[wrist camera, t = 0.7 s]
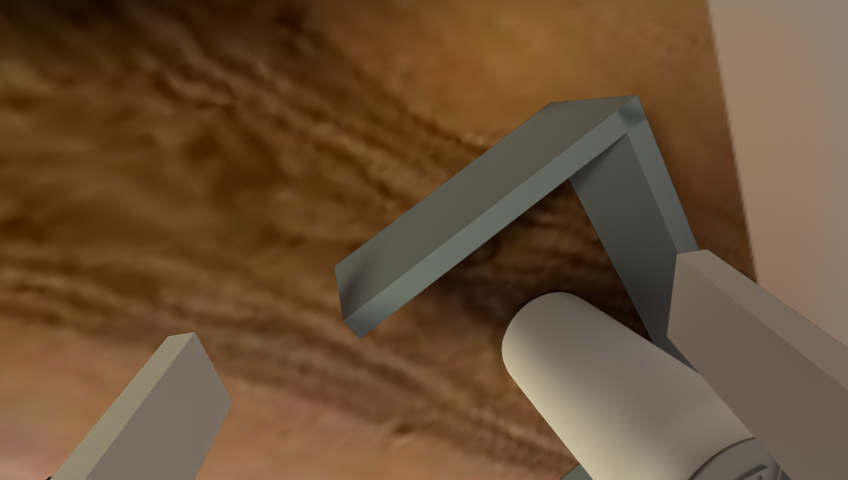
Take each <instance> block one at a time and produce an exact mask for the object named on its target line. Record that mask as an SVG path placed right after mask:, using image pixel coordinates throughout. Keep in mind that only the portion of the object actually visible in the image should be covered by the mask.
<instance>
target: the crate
mask: <svg viewBox="0 0 848 480" xmlns="http://www.w3.org/2000/svg"><path fill="white" fill-rule="evenodd" d="M567 178H569V180H570V182H571V184H572V186H573V188H574V190H575V192H576V194H577V196H578V198H579V200H580V202H581V204H582V205H583V207H584V209H585V211H586V213H587V215H588V217H589V219H590V221H591V223H592V225H593V227H594V229H595V231H596V233H597V235H598V237H599V238H600V240H601V242H602V244H603V246H604V248H605V250H606V252H607V254H608V256H609V258H610V260H611V262H612V264H613V266H614V268H615V269H616V271H617V273H618V275H619V277H620V279H621V281H622V283H623V285H624V287H625V289H626V291H627V293H628V295H629V297H630V299H631V301H632V302H633V304H634V306H635V308H636V310H637V312H638V314H639V316H640V318H641V320H642V322H643V324H644V326H645V328H646V330H647V332H648V334H649V335H650V337H651V339H652V341H653V343H654V345H655V346H657V347H658V348H660V349H661V350H663V351H664V352H666V353H668V354H669V355H671V356H672V357H674V358H675V359H677V360H678V361H680V362H682V363H683V364H685V365H686V366H688V367H689V368H691V369H692V370H694V371H695V372H697V370H696V369H695V368H694V367H693V366H692V365H691V364H690V362H689V361H688V360H687V359H686V358H685V357H684V356H683V354H682V353H681V352H680V351H679V350H678V349H677V347H676V346H675V345H674V344H673V343H672V342H671V341H670V339H669V338H668V337H667V332H668V323H669V315H670V307H671V299H672V291H673V283H674V275H675V266H676V258H677V254H681V253H688V252H694V251H699V249H698V246H697V244H696V241H695V239H694V236H693V234H692V231H691V229H690V226H689V224H688V221H687V219H686V216H685V214H684V211H683V208H682V206H681V203H680V201H679V198H678V196H677V193H676V191H675V188H674V186H673V183H672V181H671V178H670V176H669V173H668V171H667V168H666V166H665V163H664V161H663V158H662V156H661V153H660V151H659V148H658V146H657V143H656V141H655V138H654V136H653V133H652V131H651V128H650V126H649V123H648V121H647V118H646V116H645V113H644V111H643V108H642V105H641V103H640V100H639V98H638V95H633V96H622V97H610V98H599V99H588V100H576V101H565V102H554V103H549V104H548V105H547V106H546V107H544V108H543V109H542V110H540V111H539V112H538V113H536V114H535V115H534V116H532V117H531V118H530V119H528V120H527V121H526V122H524V123H523V124H522V125H520V126H519V127H518V128H516V129H515V130H514V131H513V132H511V133H510V134H509V135H507V136H506V137H505V138H503V139H502V140H501V141H499V142H498V143H497V144H495V145H494V146H493V147H491V148H490V149H489V150H487V151H486V152H485V153H484V154H482V155H481V156H480V157H478V158H477V159H476V160H474V161H473V162H472V163H470V164H469V165H468V166H466V167H465V168H464V169H462V170H461V171H460V172H458V173H457V174H456V175H454V176H453V177H452V178H451V179H449V180H448V181H447V182H445V183H444V184H443V185H441V186H440V187H439V188H437V189H436V190H435V191H433V192H432V193H431V194H429V195H428V196H427V197H425V198H424V199H423V200H422V201H420V202H419V203H418V204H416V205H415V206H414V207H412V208H411V209H410V210H408V211H407V212H406V213H404V214H403V215H402V216H400V217H399V218H398V219H396V220H395V221H394V222H392V223H391V224H390V225H389V226H387V227H386V228H385V229H383V230H382V231H381V232H379V233H378V234H377V235H375V236H374V237H373V238H371V239H370V240H369V241H367V242H366V243H365V244H363V245H362V246H361V247H360V248H358V249H357V250H356V251H354V252H353V253H352V254H350V255H349V256H348V257H346V258H345V259H344V260H342V261H341V262H340V263H338V264H337V265H336V266H334V268H335V274H336V280H337V286H338V291H339V297H340V303H341V309H342V315H343V321H344V322H345V323H346V324H347V325H348V326H349V327H350V328H351V329H352V330H353V332H354V333H355V334H356V335H357V336H358V337H359V338H362V337H363V336H364V335H365V334H367V333H368V332H369V331H371V330H372V329H373V328H375V327H376V326H377V325H378V324H380V323H381V322H382V321H384V320H385V319H386V318H387V317H389V316H390V315H391V314H393V313H394V312H395V311H397V310H398V309H399V308H400V307H402V306H403V305H404V304H406V303H407V302H408V301H410V300H411V299H412V298H413V297H415V296H416V295H417V294H419V293H420V292H421V291H422V290H424V289H425V288H426V287H428V286H429V285H430V284H432V283H433V282H434V281H435V280H437V279H438V278H439V277H441V276H442V275H443V274H444V273H446V272H447V271H448V270H450V269H451V268H452V267H454V266H455V265H456V264H457V263H459V262H460V261H461V260H463V259H464V258H465V257H466V256H468V255H469V254H470V253H472V252H473V251H474V250H476V249H477V248H478V247H479V246H481V245H482V244H483V243H485V242H486V241H487V240H488V239H490V238H491V237H492V236H494V235H495V234H496V233H498V232H499V231H500V230H501V229H503V228H504V227H505V226H507V225H508V224H509V223H511V222H512V221H513V220H514V219H516V218H517V217H518V216H520V215H521V214H522V213H523V212H525V211H526V210H527V209H529V208H530V207H531V206H533V205H534V204H535V203H536V202H538V201H539V200H540V199H542V198H543V197H544V196H545V195H547V194H548V193H549V192H551V191H552V190H553V189H555V188H556V187H557V186H558V185H560V184H561V183H562V182H564V181H565V180H566V179H567ZM697 373H698V372H697ZM561 480H593V479H592V478H591V476H590V475H589V474H588V473H587V471H586V470H585V469H584V468H583V466H582V465H581V464H579V465H578V466H577V467H575V468H574V469H573V470H572V471H570V472H569V473H568V474H567V475H566V476H564V477H563V478H562V479H561Z"/></svg>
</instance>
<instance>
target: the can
mask: <svg viewBox="0 0 848 480" xmlns="http://www.w3.org/2000/svg"><path fill="white" fill-rule="evenodd" d="M502 357H503V361H504V364H505V366H506V369H507V370H508V372H509V374H510V375H511V376H512V378H513V379H514V380H515V382H516V383H517V384H518V386H519V387H520V388H521V390H522V391H523V392H524V393H525V395H526V396H527V397H528V398H529V400H530V401H531V402H532V403H533V405H534V406H535V407H536V409H537V410H538V411H539V412H540V414H541V415H542V416H543V417H544V419H545V420H546V421H547V422H548V424H549V425H550V426H551V427H552V429H553V430H554V431H555V432H556V434H557V435H558V436H559V438H560V439H561V440H562V441H563V443H564V444H565V445H566V446H567V448H568V449H569V450H570V451H571V453H572V454H573V455H574V456H575V458H576V459H577V460H578V461H579V463H580V464H581V465H582V466H583V468H584V469H585V470H586V471H587V473H588V474H589V475H590V476H591V478H592V479H593V480H791V479H790V477H789V476H788V475H787V474H786V473H785V472H784V471H783V469H782V468H781V467H780V466H779V465H778V464H777V462H776V461H775V460H774V459H773V458H772V457H771V456H770V454H769V453H768V452H767V451H766V450H765V449H764V448H763V446H762V445H761V444H760V443H759V442H758V441H757V439H756V438H755V437H754V436H753V435H752V434H751V433H750V431H749V430H748V429H747V428H746V427H745V426H744V425H743V423H742V422H741V421H740V420H739V419H738V418H737V416H736V415H735V414H734V413H733V412H732V411H731V410H730V408H729V407H728V406H727V405H726V404H725V403H724V402H723V400H722V399H721V398H720V397H719V396H718V395H717V393H716V392H715V391H714V390H713V389H712V388H711V387H710V385H709V384H708V383H707V382H706V381H705V380H704V379H703V377H702V376H701V375H700V374H699V373H697V372H695V371H694V370H692V369H691V368H689V367H688V366H686V365H685V364H683V363H682V362H680V361H678V360H677V359H675V358H674V357H672V356H671V355H669V354H668V353H666V352H664V351H663V350H661V349H660V348H658V347H657V346H655V345H654V344H652V343H650V342H649V341H647V340H646V339H644V338H643V337H641V336H640V335H638V334H636V333H635V332H633V331H632V330H630V329H629V328H627V327H626V326H624V325H622V324H621V323H619V322H618V321H616V320H615V319H613V318H611V317H610V316H608V315H607V314H605V313H604V312H602V311H600V310H599V309H597V308H596V307H594V306H593V305H591V304H589V303H588V302H586V301H584V300H583V299H581V298H579V297H577V296H575V295H573V294H570V293H565V292H555V293H549V294H545V295H543V296H540V297H538V298H536V299H534V300H532V301H531V302H529V303H528V304H526V305H525V306H524V307H523V308H521V309H520V310H519V311H518V313H517V314H516V315H515V316H514V318H513V319H512V321H511V322H510V324H509V326H508V328H507V330H506V333H505V335H504V338H503V342H502Z"/></svg>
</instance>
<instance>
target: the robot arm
mask: <svg viewBox="0 0 848 480" xmlns="http://www.w3.org/2000/svg"><path fill="white" fill-rule="evenodd" d="M667 337H668V338H669V339H670V341H671V342H672V343H673V344H674V345H675V346H676V347H677V349H678V350H679V351H680V352H681V353H682V354H683V356H684V357H685V358H686V359H687V360H688V361H689V362H690V364H691V365H692V366H693V367H694V368H695V369H696V370H697V372H698V373H699V374H700V375H701V376H702V377H703V379H704V380H705V381H706V382H707V383H708V384H709V385H710V387H711V388H712V389H713V390H714V391H715V392H716V393H717V395H718V396H719V397H720V398H721V399H722V400H723V402H724V403H725V404H726V405H727V406H728V407H729V408H730V410H731V411H732V412H733V413H734V414H735V415H736V416H737V418H738V419H739V420H740V421H741V422H742V423H743V425H744V426H745V427H746V428H747V429H748V430H749V431H750V433H751V434H752V435H753V436H754V437H755V438H756V439H757V441H758V442H759V443H760V444H761V445H762V446H763V448H764V449H765V450H766V451H767V452H768V453H769V454H770V456H771V457H772V458H773V459H774V460H775V461H776V462H777V464H778V465H779V466H780V467H781V468H782V469H783V471H784V472H785V473H786V474H787V475H788V476H789V477H790V479H791V480H848V348H847V347H846V346H844V345H843V344H842V343H840V342H838V341H837V340H836V339H834V338H833V337H832V336H830V335H829V334H827V333H826V332H824V331H823V330H822V329H820V328H819V327H817V326H816V325H814V324H813V323H811V322H810V321H809V320H807V319H806V318H804V317H803V316H802V315H800V314H799V313H797V312H796V311H794V310H793V309H792V308H790V307H789V306H787V305H786V304H784V303H783V302H781V301H780V300H779V299H777V298H776V297H774V296H773V295H771V294H770V293H769V292H767V291H766V290H764V289H763V288H761V287H760V286H759V285H757V284H756V283H754V282H753V281H752V280H750V279H749V278H747V277H746V276H744V275H743V274H742V273H740V272H739V271H737V270H736V269H734V268H733V267H732V266H730V265H729V264H727V263H726V262H724V261H723V260H722V259H720V258H719V257H717V256H716V255H714V254H713V253H712V252H710V251H709V250H707V249H706V250H700V251H694V252H688V253H681V254H677V258H676V266H675V275H674V283H673V291H672V299H671V307H670V315H669V323H668V332H667ZM232 403H233V402H232V400H231V398H230V396H229V394H228V393H227V391H226V389H225V387H224V385H223V383H222V382H221V380H220V378H219V376H218V374H217V372H216V370H215V369H214V367H213V365H212V363H211V361H210V359H209V357H208V356H207V354H206V352H205V350H204V348H203V346H202V345H201V343H200V341H199V339H198V337H197V335H196V333H195V332H192V333H186V334H180V335H173V336H168V337H167V339H166V340H165V341H164V342H163V343H162V345H161V346H160V347H159V348H158V349H157V351H156V352H155V353H154V354H153V356H152V357H151V358H150V359H149V360H148V362H147V363H146V364H145V365H144V366H143V368H142V369H141V370H140V371H139V372H138V374H137V375H136V376H135V377H134V379H133V380H132V381H131V382H130V383H129V385H128V386H127V387H126V388H125V389H124V391H123V392H122V393H121V394H120V395H119V397H118V398H117V399H116V400H115V402H114V403H113V404H112V405H111V406H110V408H109V409H108V410H107V411H106V412H105V414H104V415H103V416H102V417H101V419H100V420H99V421H98V422H97V423H96V425H95V426H94V427H93V428H92V429H91V431H90V432H89V433H88V434H87V435H86V437H85V438H84V439H83V440H82V442H81V443H80V444H79V445H78V446H77V448H76V449H75V450H74V451H73V452H72V454H71V455H70V456H69V457H68V458H67V460H66V461H65V462H64V463H63V465H62V466H61V467H60V468H59V469H58V471H57V472H56V473H55V474H54V475H53V476H52V477H49V478H48V479H46V480H194V479H195V477H196V475H197V473H198V471H199V469H200V467H201V465H202V463H203V461H204V459H205V457H206V455H207V453H208V451H209V449H210V447H211V445H212V443H213V441H214V439H215V437H216V435H217V433H218V431H219V429H220V427H221V425H222V423H223V421H224V419H225V417H226V415H227V413H228V411H229V409H230V407H231V405H232Z"/></svg>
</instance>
